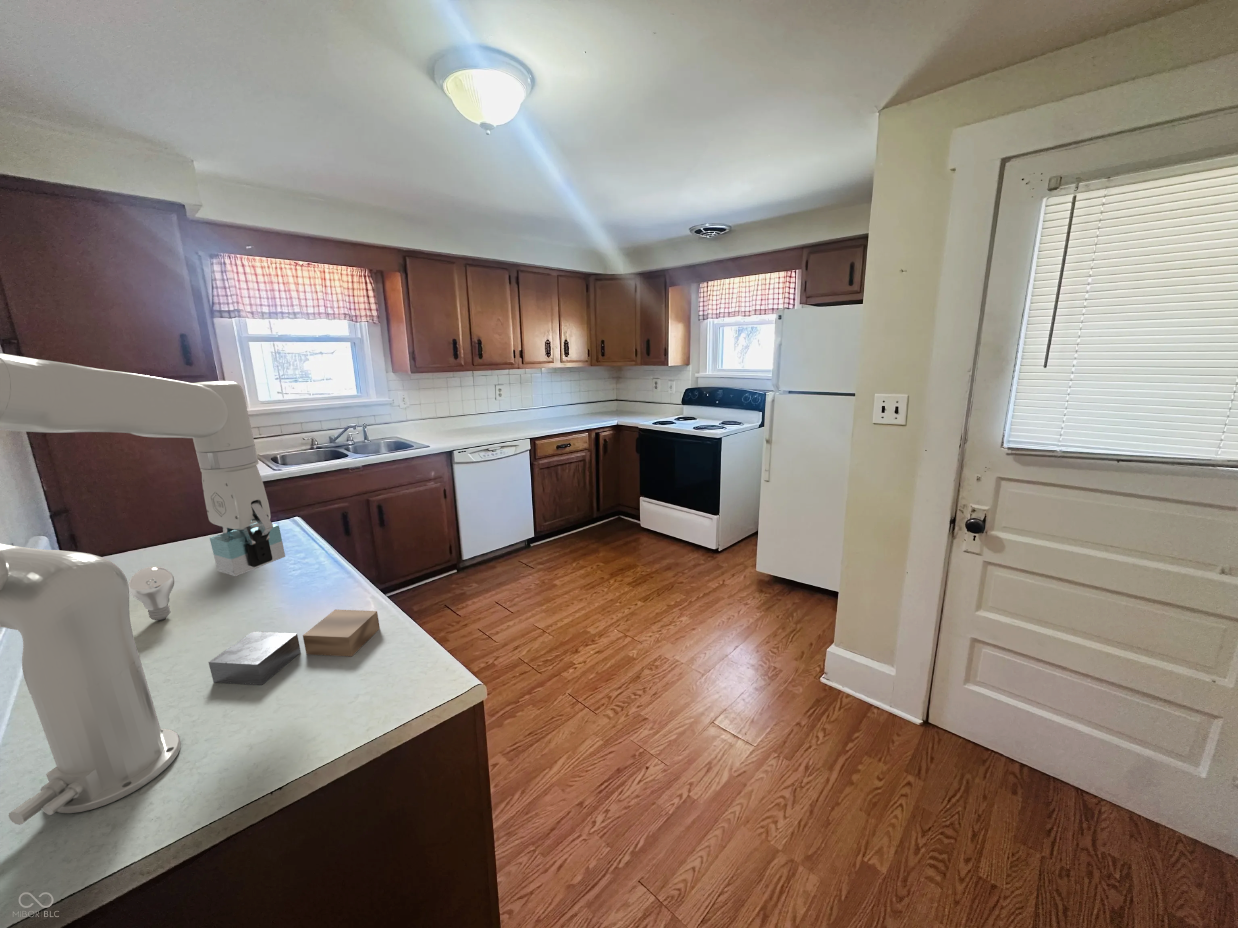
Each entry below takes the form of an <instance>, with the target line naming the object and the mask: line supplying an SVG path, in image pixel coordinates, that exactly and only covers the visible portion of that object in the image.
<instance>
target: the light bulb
mask: <svg viewBox="0 0 1238 928" xmlns="http://www.w3.org/2000/svg"><path fill="white" fill-rule="evenodd" d="M175 582H176V581H175V576H174V574H173V573H172V572H171V570H169V569H167V568H165V567H161V566H156V565H155V566H147V567H144V568H141V569H140V570H138V571H136V572H135V573H134V574H133V575H132V576H131V578H130V579H129V582H128V585H129V595H130V596H132V598H134V599H135V600H137V601H138V602H140V603H142V605H143V607H144V608H145V609H146V611H147V613H148V618H149V619H151V620H154V621H157V622H162V621H165V620H166V618H167V617H169V615H170V614H171V608H170V605H169V603H170V595H171V593H172V591H173V589H174V586H175Z"/></svg>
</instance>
